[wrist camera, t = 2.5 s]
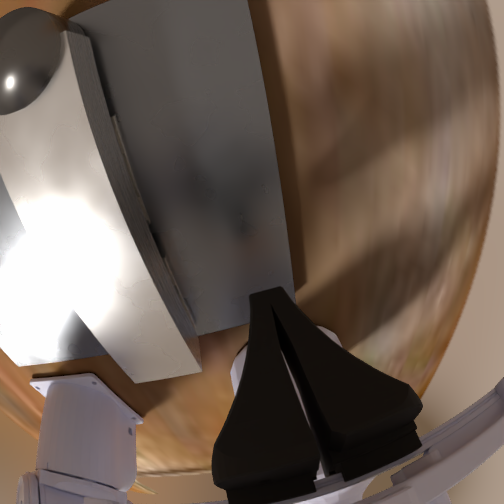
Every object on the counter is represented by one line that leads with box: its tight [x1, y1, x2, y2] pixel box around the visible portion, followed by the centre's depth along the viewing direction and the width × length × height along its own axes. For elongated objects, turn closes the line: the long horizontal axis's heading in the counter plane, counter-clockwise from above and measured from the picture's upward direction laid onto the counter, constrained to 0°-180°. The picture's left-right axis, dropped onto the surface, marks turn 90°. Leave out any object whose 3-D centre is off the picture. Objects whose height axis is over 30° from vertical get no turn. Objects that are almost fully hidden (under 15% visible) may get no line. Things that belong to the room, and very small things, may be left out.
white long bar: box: [0, 7, 202, 383], centre depth 10 cm, size 18×4×3 cm, turn 10°
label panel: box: [0, 0, 296, 366], centre depth 12 cm, size 18×22×2 cm
